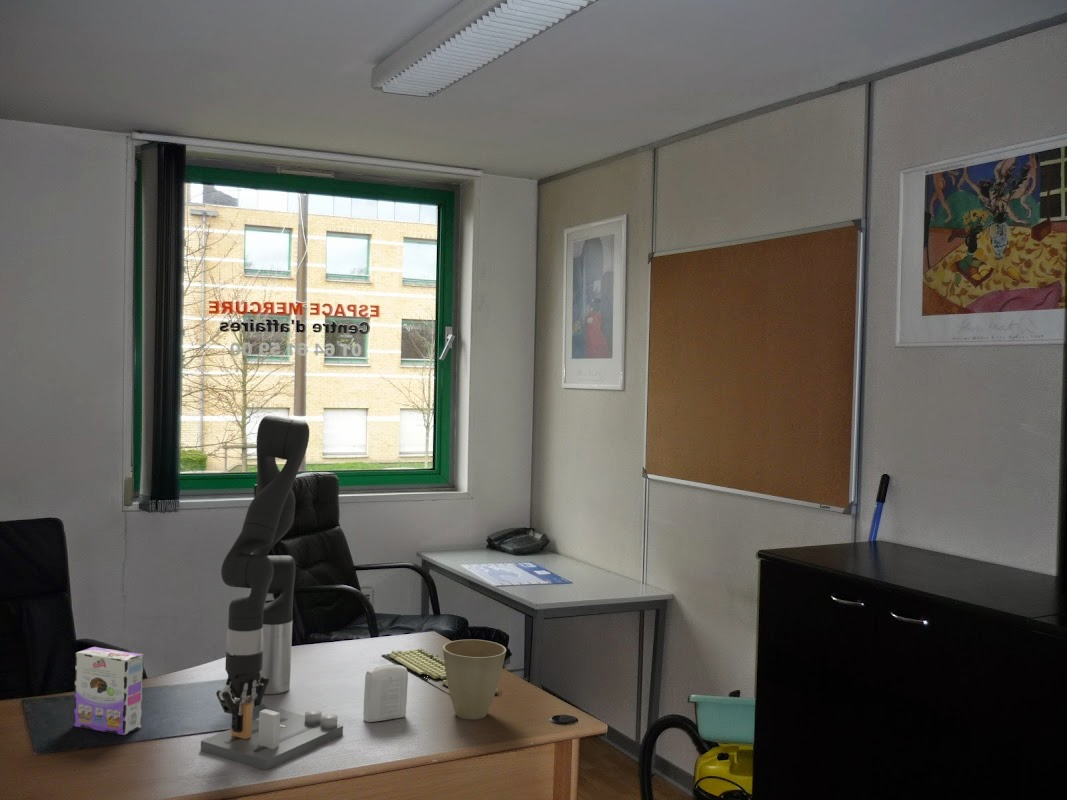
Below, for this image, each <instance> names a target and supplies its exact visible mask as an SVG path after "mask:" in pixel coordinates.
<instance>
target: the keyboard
mask: <svg viewBox="0 0 1067 800" xmlns="http://www.w3.org/2000/svg"><path fill="white" fill-rule="evenodd" d="M381 656H382V657H383V658H384V659H387V661H390V662H392V663H393V664H394V665H401V666H404V667H405V668H406V669H407V672H408V673H410V674H412V675H414V676H416V677H417V678H419V679H420V680H422V681H424V682H426V683H428V684H429V685H431V686H433V687H435V688H437V689H438V690H441V692H443V691H444V693H445V694H446V695H449V696H450V693H449V692H446V691H445V690H443V689H441V687H438V686H437V685H435V684H433V683H432V682H430V681H431V680H432V681H433V682H436V681H439V680H441V684H442V685H443V686H444V685H445V686H444V687H446V688H448V684H447V678H446V672H445V664H444V659H442V658H439V655H434V654H433V653H431V652H429V651H427V650H425V649H424V648H417V649H410V650H405V651H402V650H397V651H396V650H392V651H391V653H387V654H381ZM427 676H428V677H427ZM424 677H425V678H424ZM426 678H427V679H426ZM428 679H429V680H430V681H428ZM435 680H436V681H435ZM501 692H502V689H500V693H499V688H498V687H497V689H496V692H495V695H494V696H497V695H498V693H499V695H501V696H502V694H501ZM502 693H503V692H502ZM496 694H497V695H496Z"/></svg>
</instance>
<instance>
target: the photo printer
mask: <svg viewBox="0 0 1067 800" xmlns="http://www.w3.org/2000/svg"><path fill="white" fill-rule="evenodd" d="M364 678H365V679H364V695H363V696H364V697H363V712H362V713H363V714H362V715H363V721H365V722H367V723H372V722H373V723H374V722H380V721H388V720H392V719H393V720H394V719H400V718H405V717H406V716H407V701H408V682H409V681H408V680H409V671H407V669H406V668H405V667H404V666H401V665H396V664H383V665H378V666H376V667H373V668H370V669H369V670H367V671H366V673H365V676H364Z"/></svg>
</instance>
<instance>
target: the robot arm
mask: <svg viewBox="0 0 1067 800" xmlns="http://www.w3.org/2000/svg"><path fill="white" fill-rule="evenodd" d="M309 441H310V427H309V424H308V423H307V422H305V421H302V420H297V419H292V418H289V417H288V418H287V417H282V416H277V415H266V416H264V417H262V419H261V420H260V422H259V424H258V427H257V432H256V466H257V468H256V469H257V470H256V471H257V474H256V491H255V497H253V499H252V500H251V502H250V504H249V505H248V507H247V508H248V509H247V511H246V514H245V519H244V521H243V525H242V527H241V528H242V529H241V531H240V533H239V535H238V537H236V540H235V542H234V544H233V545H232V546H231V548H230V549H229V551H228V553H226V555H225V557H224V559H223V562H222V565H221V569H220V570H221V571H220V574H221V579H222V581H223V583H224V584H225V585H226V586H228V587H232V588H243V589H250V593H249V595H248V596H245V597H237V598H235V599H232V600H231V601H230V603H229V605H228V621H227V622H228V623H227V624H228V626H227V633H226V641H225V642H226V644H225V646H226V647H225V666H224V667H225V668H224V669H225V672H226V673H227V679H226V682H225V686H224V688H223V689H222V690H220V689H218V690H217V691H216V692H215V694H216V697H217V699H218V702H219V703H220V706H221V708H222V710H223V712H224V713H226V714H229V715H231V729H233V731H234V732H238V733H240V732H242V730H243V715H242V713H243V705H244V704H245V702H248V703H252V704H253V711H254V710H255V708H256V707H257V706H258V707H259V706H260V705H261V702H262V699H263V697H264V696H265V695H276V694H282V693H285V692H288V691H289V690H290V688H291V687H290V686H291V668H292V667H291V664H292V663H291V662H292V639H293V606H294V590H295V582H296V571H297V570H296V561H295V557H293V556H291V555H280V554H279V555H269V553H270V551H271V550H272V548H273V547H274V546H276V544H277V543H278V542H279V541H280V540H281V539H282V538H283V537H284V536H285V535H286V534H287V533H288V532H289V530H290V529H291V527H292V525H293V523H294V519H295V513H296V511H295V510H296V496H295V494H294V491H293V489H292V487H293V485H294V482H295V480H296V477H297V475H298V472H299V470H300V468H301V466H302V463H303V461H304V457H305V455H306V452H307V449H308V445H309ZM276 459H280V460H286V462H285V464H284V465H283V467H282V468H281V470H280V469H279V467H278V464H277V461H276ZM268 594H280V595H279V596H278V597H276V599H274V600H272V601H270V602H268V603H266V599H267V595H268ZM236 704H238V708H236Z"/></svg>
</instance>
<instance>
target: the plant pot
mask: <svg viewBox="0 0 1067 800" xmlns="http://www.w3.org/2000/svg"><path fill="white" fill-rule="evenodd" d="M442 651H443V652H442V653H443V660H444V664H445V672H446V678H447V684H448V687H447V688H448V693H449V694H450V695H449V697H450V700H451V704H452V707H453V711H454V713H455V715H456V716H457V717H458V718H461V719H465V720H481V719H483V718H485V717H486V716H487V714H488V712H489V711H490V710H489V709H490V708H491V706H492V702H493V700H494V697H495V696H496V695H495V692H496V689H497V688H498V686H499V683H500V679H501V677H502V673H503V668H504V662H505V658H506V653H507V648H506V647H505V646H504V645H502V644H500V643H498V642H493V641H491V640H490V641H489V640H484V639H459V640H457V639H456V640H453V641H449V642H447V643H445V644H444V645H443V646H442Z"/></svg>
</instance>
